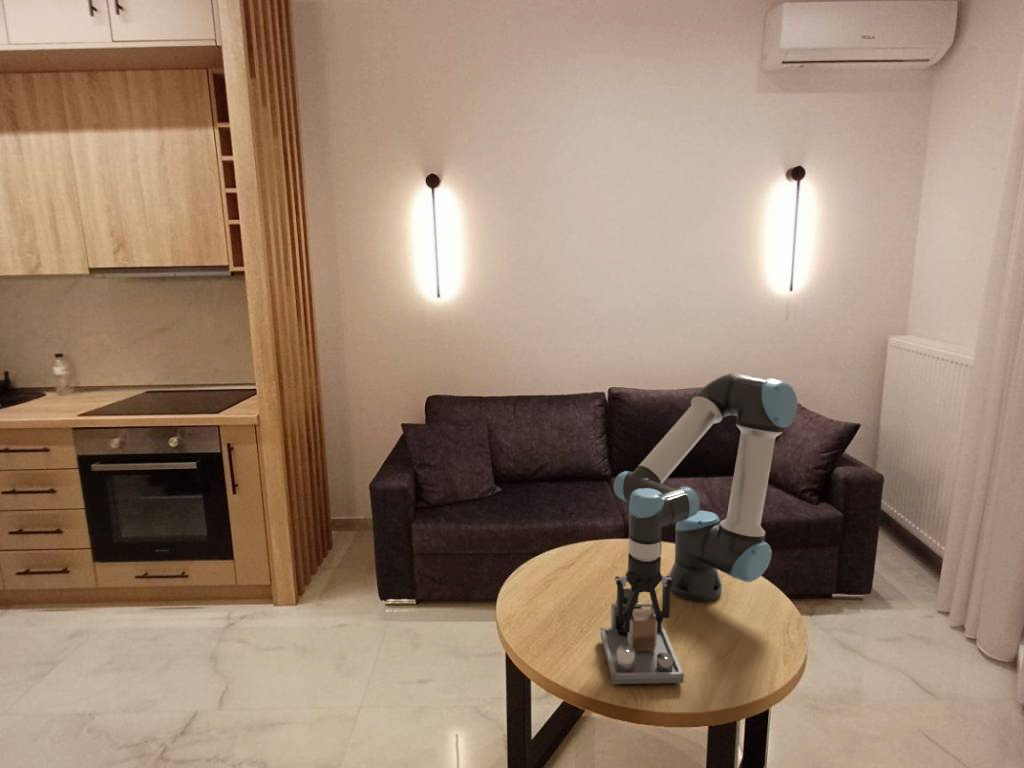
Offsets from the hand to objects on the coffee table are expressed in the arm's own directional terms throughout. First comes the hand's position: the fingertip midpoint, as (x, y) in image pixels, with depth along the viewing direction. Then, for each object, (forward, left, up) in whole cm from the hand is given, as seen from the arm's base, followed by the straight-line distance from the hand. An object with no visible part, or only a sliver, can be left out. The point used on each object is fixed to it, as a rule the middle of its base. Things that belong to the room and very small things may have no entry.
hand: (641, 642), depth 149 cm
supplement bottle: (+2, -8, -4) cm, 9 cm away
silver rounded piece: (+5, +8, -1) cm, 10 cm away
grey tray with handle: (+1, +2, -4) cm, 5 cm away
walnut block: (0, 0, 0) cm, 0 cm away
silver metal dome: (-4, +8, -1) cm, 9 cm away
